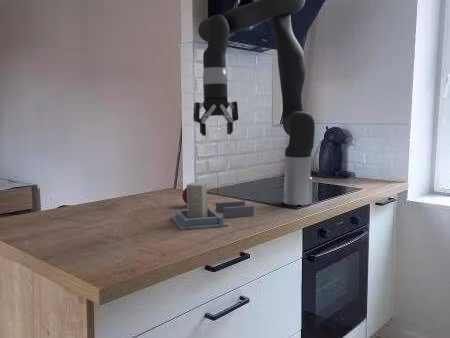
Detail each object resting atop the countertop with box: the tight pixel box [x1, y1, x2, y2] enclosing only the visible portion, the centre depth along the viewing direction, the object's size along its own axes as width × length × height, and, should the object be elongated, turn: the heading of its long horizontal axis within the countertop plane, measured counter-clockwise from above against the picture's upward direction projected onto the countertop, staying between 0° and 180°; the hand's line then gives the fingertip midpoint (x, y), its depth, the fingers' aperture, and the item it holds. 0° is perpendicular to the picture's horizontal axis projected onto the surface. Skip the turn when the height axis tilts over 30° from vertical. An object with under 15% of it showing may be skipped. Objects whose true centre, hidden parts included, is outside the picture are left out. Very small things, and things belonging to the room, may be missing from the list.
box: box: [186, 182, 208, 219], centre depth 122 cm, size 5×4×11 cm
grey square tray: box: [170, 207, 229, 231], centre depth 123 cm, size 14×14×3 cm
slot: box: [215, 200, 255, 219], centre depth 134 cm, size 10×9×3 cm
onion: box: [182, 187, 187, 205], centre depth 144 cm, size 6×6×8 cm
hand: (216, 134), depth 131 cm, fingers open, 8 cm apart
